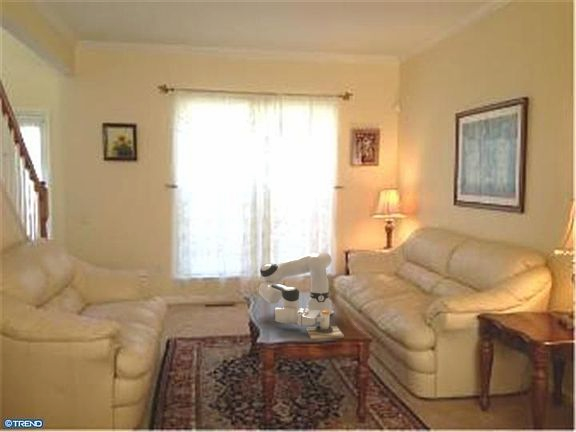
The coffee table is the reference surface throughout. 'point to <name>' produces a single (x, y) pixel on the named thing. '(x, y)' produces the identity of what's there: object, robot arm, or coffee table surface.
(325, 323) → the bottle
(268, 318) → the coffee table surface
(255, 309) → the coffee table surface
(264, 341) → the coffee table surface
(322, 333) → the board
